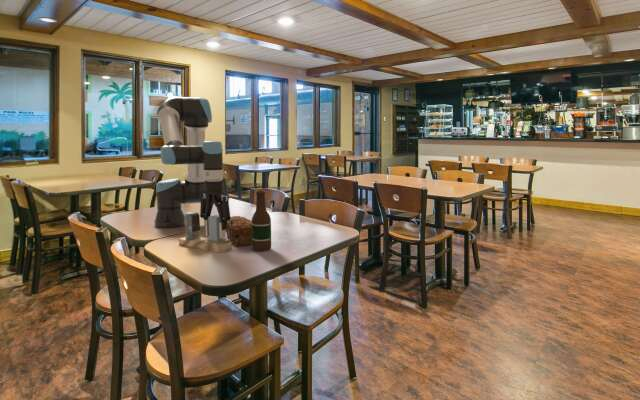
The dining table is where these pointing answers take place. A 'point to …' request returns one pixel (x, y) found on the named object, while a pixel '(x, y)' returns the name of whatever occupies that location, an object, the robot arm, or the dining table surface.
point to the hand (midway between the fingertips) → (215, 236)
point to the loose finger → (214, 229)
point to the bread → (239, 231)
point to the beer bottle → (261, 225)
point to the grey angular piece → (200, 242)
